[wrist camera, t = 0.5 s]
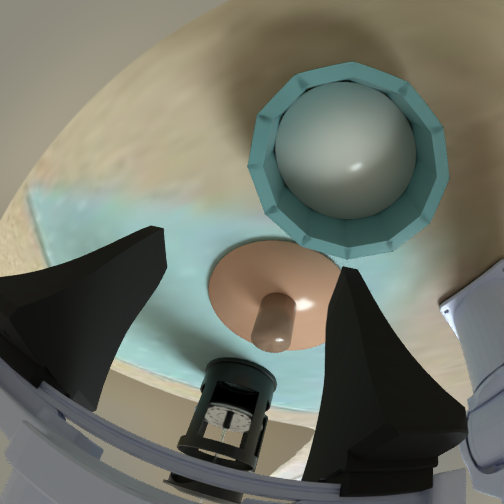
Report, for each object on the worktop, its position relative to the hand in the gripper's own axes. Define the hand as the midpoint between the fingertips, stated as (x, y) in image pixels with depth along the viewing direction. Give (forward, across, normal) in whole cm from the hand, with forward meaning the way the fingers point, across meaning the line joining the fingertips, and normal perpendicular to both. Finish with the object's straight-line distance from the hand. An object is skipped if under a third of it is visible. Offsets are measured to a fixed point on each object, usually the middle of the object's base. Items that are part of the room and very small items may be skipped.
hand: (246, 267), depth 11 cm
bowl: (+10, -4, -3) cm, 11 cm away
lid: (+10, -2, +11) cm, 15 cm away
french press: (+10, +1, +26) cm, 28 cm away
